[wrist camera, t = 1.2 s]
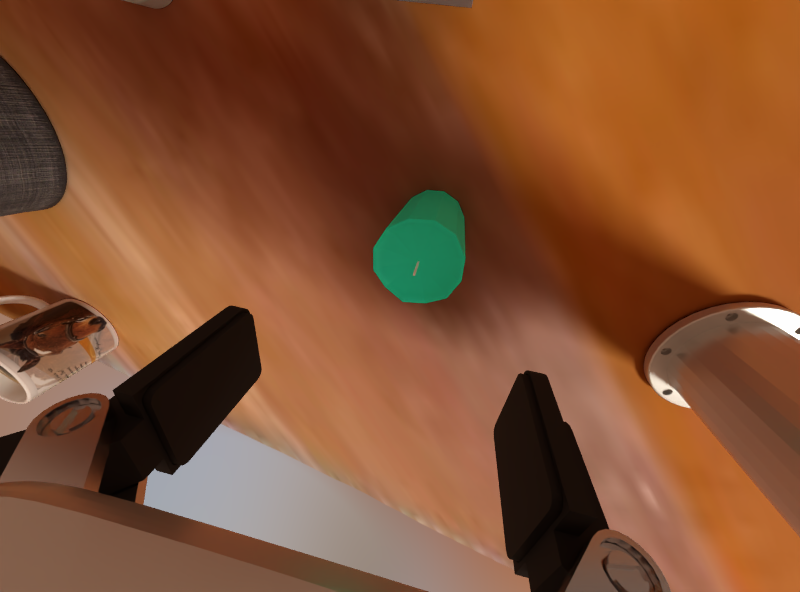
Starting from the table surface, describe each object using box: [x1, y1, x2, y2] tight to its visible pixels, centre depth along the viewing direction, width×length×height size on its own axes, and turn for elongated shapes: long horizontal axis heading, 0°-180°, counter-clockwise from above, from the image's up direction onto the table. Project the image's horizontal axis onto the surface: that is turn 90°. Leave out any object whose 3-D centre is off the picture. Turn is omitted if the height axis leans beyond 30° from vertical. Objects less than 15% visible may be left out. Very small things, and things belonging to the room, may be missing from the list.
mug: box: [0, 295, 119, 404], centre depth 40 cm, size 10×12×11 cm
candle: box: [373, 190, 466, 303], centre depth 22 cm, size 6×6×12 cm
